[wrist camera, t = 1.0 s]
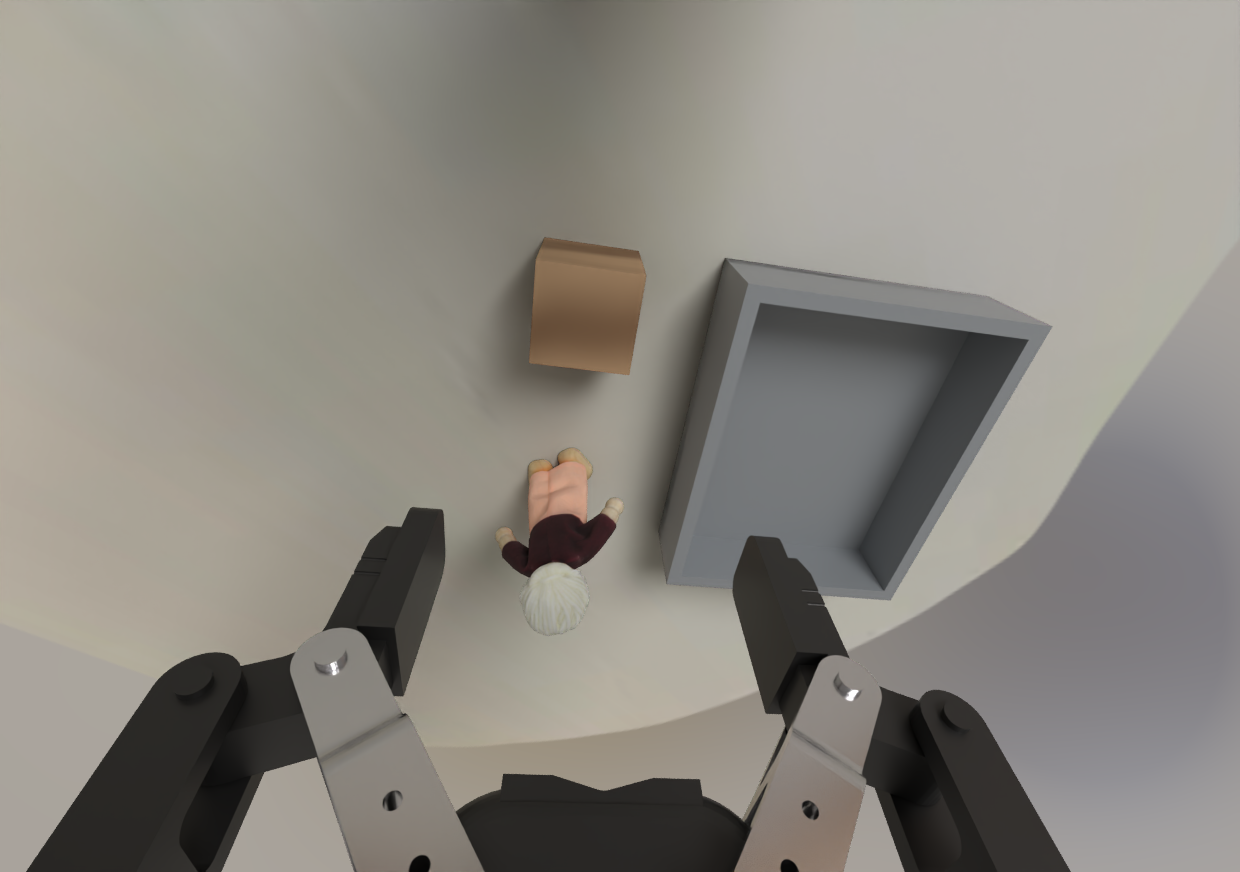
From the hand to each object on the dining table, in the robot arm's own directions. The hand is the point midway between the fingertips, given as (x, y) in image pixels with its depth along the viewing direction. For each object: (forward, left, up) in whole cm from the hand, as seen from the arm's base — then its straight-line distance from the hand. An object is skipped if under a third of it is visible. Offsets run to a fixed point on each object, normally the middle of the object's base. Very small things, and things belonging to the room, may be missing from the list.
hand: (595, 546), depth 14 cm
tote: (+6, +14, -19) cm, 24 cm away
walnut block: (-1, -1, -19) cm, 19 cm away
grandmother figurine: (+11, -1, -19) cm, 22 cm away
